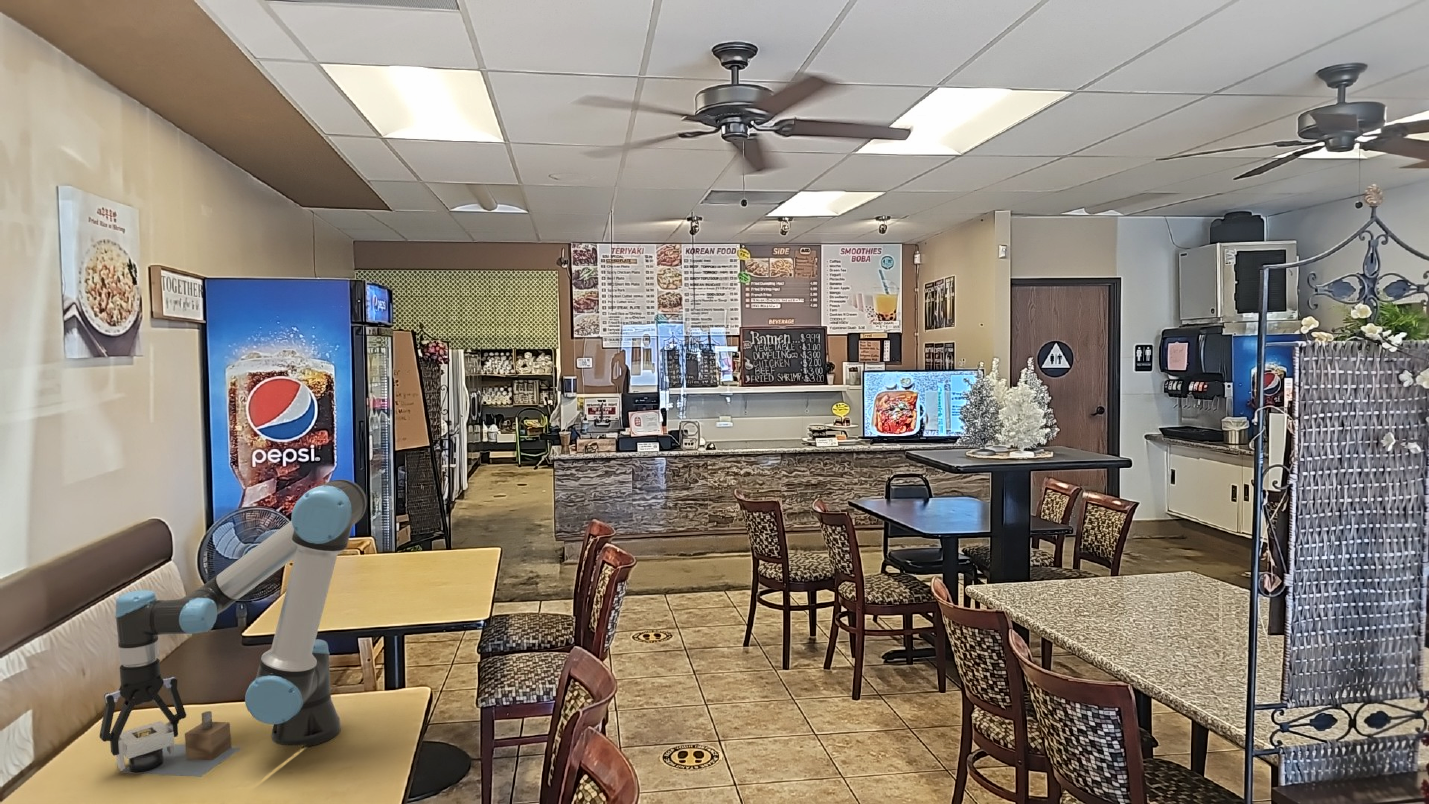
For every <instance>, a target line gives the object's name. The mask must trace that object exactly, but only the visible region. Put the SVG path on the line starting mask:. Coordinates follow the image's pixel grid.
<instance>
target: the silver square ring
mask: <svg viewBox="0 0 1429 804" xmlns="http://www.w3.org/2000/svg"><path fill="white" fill-rule="evenodd" d="M143 729H151V734H150V735H146V736H143V737H140V738H138V731H140V730H143ZM120 738H121V739H122V740H123V751H124V758H126V759H127V760H129V759H130V758H133V757H136V756H139V755H142V754H146V753H149V752H152V751H155V750H159V749H162V748H165V747H168V746H171V745H174V744H175V737H174V732H173V731H172V730H171V729H170V728H169V727H168V726H166V725H165V722H163V721H162V720H159V721H155V722H152V723H147V724H145V725H141V726H137V727H134V728H131V729H126V730H124V731H123V730H122V733H121V735H120Z"/></svg>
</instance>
